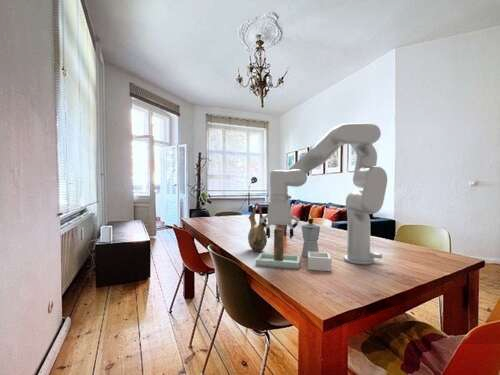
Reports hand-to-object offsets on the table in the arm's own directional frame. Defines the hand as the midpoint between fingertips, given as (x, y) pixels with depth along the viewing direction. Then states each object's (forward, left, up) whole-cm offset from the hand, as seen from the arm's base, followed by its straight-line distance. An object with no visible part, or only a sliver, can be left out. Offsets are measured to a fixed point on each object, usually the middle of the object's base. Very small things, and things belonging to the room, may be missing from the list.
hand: (279, 237), depth 108 cm
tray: (+1, 0, -11) cm, 11 cm away
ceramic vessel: (+14, -18, -11) cm, 25 cm away
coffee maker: (-13, -16, -11) cm, 24 cm away
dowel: (0, 0, -10) cm, 10 cm away
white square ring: (-16, +1, -11) cm, 20 cm away
